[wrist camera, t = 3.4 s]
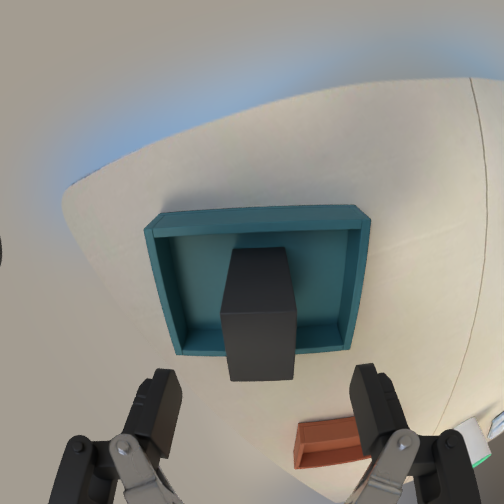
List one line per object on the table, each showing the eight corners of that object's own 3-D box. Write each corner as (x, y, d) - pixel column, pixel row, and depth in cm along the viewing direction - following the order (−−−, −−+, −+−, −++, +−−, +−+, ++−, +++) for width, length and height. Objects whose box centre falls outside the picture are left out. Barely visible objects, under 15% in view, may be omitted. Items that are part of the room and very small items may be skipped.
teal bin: (184, 329, 23) (175, 355, 20) (159, 213, 18) (143, 229, 15) (341, 324, 22) (350, 349, 19) (355, 204, 18) (371, 219, 15)
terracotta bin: (293, 452, 33) (294, 469, 31) (298, 423, 29) (300, 443, 26) (375, 440, 33) (379, 455, 30) (396, 407, 28) (402, 425, 26)
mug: (427, 442, 36) (440, 482, 27) (456, 419, 33) (473, 460, 24) (455, 437, 38) (468, 471, 28) (481, 416, 35) (496, 451, 25)
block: (238, 309, 21) (230, 382, 14) (232, 248, 19) (219, 313, 12) (284, 307, 21) (293, 380, 14) (285, 246, 18) (297, 310, 12)
